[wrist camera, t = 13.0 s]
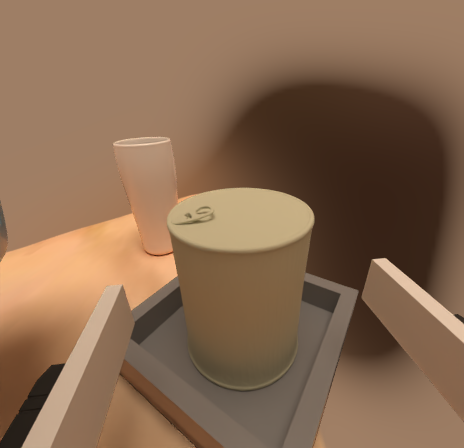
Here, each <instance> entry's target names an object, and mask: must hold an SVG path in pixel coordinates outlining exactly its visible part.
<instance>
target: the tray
mask: <svg viewBox="0 0 464 448" xmlns="http://www.w3.org/2000/svg"><path fill="white" fill-rule="evenodd" d="M357 294H358V290H354V289H351V288H349V287H346V286H343V285H340V284H337V283H334V282H331V281H328V280H325V279H322V278H319V277H316V276H314V275H311V274H308V273H305V277H304V284H303V291H302V299H301V306H300V315H299V323H298V333H297V335H298V349H297V354H296V357H295V359H294V362H293V364H292V365H291V367H290V368H289V370H288V371H287V372H286V373H285V374H284V375H283V376H282V377H281V378H280V379H279V380H277V381H276V382H274V383H272V384H270V385H268V386H266V387H263V388H260V389H256V390H250V391H238V390H231V389H227V388H223V387H221V386H219V385H216V384H214V383H213V382H211V381H209V380H208V379H207V378H206V377H204V376H203V375H202V374H201V373H200V372H199V371H198V369H197V368H196V366H195V365H194V363H193V361H192V359H191V357H190V354H189V350H188V343H187V338H188V332H187V326H186V320H185V314H184V308H183V302H182V296H181V291H180V285H179V280H178V276H177V277H176V278H174V279H173V280H172V281H170V282H169V283H168V284H166V285H165V286H164V287H162V288H161V289H160V290H158V291H157V292H156V293H154V294H153V295H152V296H150V297H149V298H148V299H146V300H145V301H144V302H142V303H141V304H140V305H139V306H137V307H136V308H135V309H133V310H132V311H131V313H132V316H133V319H134V322H135V324H134V328H133V331H132V334H131V337H130V341H129V344H128V347H127V350H126V354H125V357H124V360H123V363H122V367H121V370H120V373H119V374H120V375H122V376H123V377H124V378H125V379H126V380H127V381H128V382H129V383H130V384H131V385H132V386H133V387H134V388H135V389H136V390H137V391H138V392H139V393H140V394H141V395H143V396H144V397H145V398H146V399H147V400H148V401H149V402H150V403H151V404H152V405H153V406H154V407H155V408H156V409H157V410H158V411H159V412H160V413H161V414H162V415H163V416H165V417H166V418H167V419H168V420H169V421H170V422H171V423H172V424H173V425H174V426H175V427H176V428H177V429H178V430H179V431H180V432H181V433H182V434H183V435H184V436H186V437H187V438H188V439H189V440H190V441H191V442H192V443H193V444H194V445H195V446H196V447H197V448H313V446H314V443H315V439H316V436H317V433H318V429H319V426H320V422H321V419H322V415H323V412H324V408H325V405H326V402H327V399H328V395H329V392H330V388H331V385H332V381H333V378H334V375H335V371H336V368H337V364H338V361H339V357H340V354H341V351H342V347H343V344H344V341H345V337H346V334H347V330H348V327H349V324H350V320H351V316H352V313H353V309H354V305H355V301H356V298H357Z"/></svg>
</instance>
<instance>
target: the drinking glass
mask: <svg viewBox="0 0 464 448" xmlns="http://www.w3.org/2000/svg"><path fill="white" fill-rule="evenodd" d="M113 147H114V153H115V157H116V162H117V166H118V170H119V174H120V177H121V180H122V184H123V187H124V189H125V192H126V195H127V198H128V201H129V204H130V206H131V209H132V212H133V215H134V218H135V221H136V224H137V227H138V230H139V233H140V236H141V239H142V243H143V247H144V249H145V251H146V252H148V253H150V254H153V255H163V254H167V253H170V252H172V251H173V248H172V243H171V238H170V234H169V231H168V228H167V224H166V222H167V216H168V214H169V212H170V211H171V210H172V209H173V208H174V207H175V206H176V205H177V204H178V199H177V181H176V169H175V162H174V155H173V149H172V144H171V140H170V139H169V138H166V137H144V138H133V139H127V140H120V141H116V142H114V143H113Z"/></svg>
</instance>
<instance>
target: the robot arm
mask: <svg viewBox="0 0 464 448" xmlns="http://www.w3.org/2000/svg"><path fill="white" fill-rule="evenodd" d="M7 241H8V237H7V230H6V224H5V219H4V214H3V210H2V206H1V202H0V262H1V260H2V258H3V257H4V255H5V253H6V250H7V245H8V242H7ZM362 299H363V300H364V301H365V303H366V304H367V305H368V306H369V307H370V309H371V310H372V311H373V312H374V313H375V315H376V316H377V317H378V318H379V320H380V321H381V322H382V323H383V324H384V326H385V327H386V328H387V329H388V331H389V332H390V333H391V334H392V335H393V336H394V338H395V339H396V340H397V341H398V343H399V344H400V345H401V346H402V347H403V348H404V350H405V351H406V352H407V354H408V355H409V356H410V357H411V358H412V360H413V361H414V362H415V363H416V365H417V366H418V367H419V368H420V369H421V371H422V372H423V373H424V374H425V375H426V377H427V378H428V379H429V380H430V381H431V383H432V384H433V385H434V386H435V388H436V389H437V390H438V391H439V392H440V394H441V395H442V396H443V397H444V399H445V400H446V401H447V402H448V403H449V405H450V406H451V407H452V408H453V409H454V411H455V412H456V413H457V414H458V415H459V417H460V418H461V419H462V420H463V422H464V318H463V317H462V316H460V315H458V314H455V315H453V314H451V313H450V312H449V311H448V310H447V309H445V308H444V307H443V306H442V305H441V304H439V303H438V302H437V301H436V300H435V299H433V298H432V297H431V296H430V295H429V294H427V293H426V292H425V291H424V290H423V289H422V288H420V287H419V286H418V285H417V284H416V283H414V282H413V281H412V280H411V279H410V278H408V277H407V276H406V275H405V274H403V273H402V272H401V271H400V270H399V269H398V268H396V267H395V266H394V265H393V264H392V263H390V262H389V261H388V260H387V259H386V258H383V259H373V260H372V262H371V266H370V269H369V273H368V276H367V280H366V284H365V287H364V291H363V294H362ZM134 324H135V322H134V319H133V316H132V313H131V310H130V306H129V303H128V300H127V297H126V294H125V291H124V287H123V284H122V285H112V286H106V288H105V290H104V292H103V294H102V296H101V298H100V299H99V301H98V303H97V305H96V307H95V309H94V311H93V313H92V315H91V317H90V318H89V320H88V322H87V324H86V326H85V328H84V330H83V332H82V334H81V336H80V337H79V339H78V341H77V343H76V345H75V347H74V349H73V351H72V353H71V354H70V356H69V358H68V360H67V362H66V363H65V364H57V365H51V366H50V367H49V369H48V370H47V371H46V372H45V373H44V374H43V375H42V376H41V377H40V378H39V379H38V380H37V382H36V383H35V385H34V387H33V388H32V390H31V392H30V393H29V395H28V398H27V400H25V402H24V403H23V405H22V407H21V408H20V410H19V414H17V415H16V417H15V418H14V420H13V422H12V423H11V425H10V427H9V428H8V430H7V432H6V433H5V435H4V437H3V438H2V440H1V442H0V448H97V444H98V441H99V438H100V435H101V432H102V428H103V425H104V422H105V419H106V415H107V412H108V409H109V406H110V402H111V399H112V396H113V393H114V389H115V386H116V383H117V380H118V376H119V373H120V370H121V367H122V363H123V360H124V357H125V354H126V350H127V347H128V344H129V341H130V337H131V334H132V331H133V328H134Z"/></svg>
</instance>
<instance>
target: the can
mask: <svg viewBox="0 0 464 448" xmlns="http://www.w3.org/2000/svg"><path fill="white" fill-rule="evenodd" d="M166 224H167V228H168V231H169V234H170V238H171V243H172V248H173V253H174V259H175V264H176V269H177V274H178V280H179V285H180V291H181V296H182V302H183V308H184V314H185V320H186V326H187V332H188V338H187V343H188V350H189V354H190V357H191V359H192V361H193V363H194V365H195V366H196V368H197V369H198V371H199V372H200V373H201V374H202V375H203V376H204V377H206V378H207V379H208V380H209V381H211V382H213V383H214V384H216V385H219V386H221V387H223V388H227V389H231V390H238V391H250V390H256V389H260V388H263V387H266V386H268V385H270V384H272V383H274V382H276V381H277V380H279V379H280V378H281V377H282V376H283V375H284V374H285V373H286V372H287V371H288V370H289V368H290V367H291V365H292V364H293V362H294V359H295V357H296V354H297V349H298V335H297V333H298V323H299V315H300V306H301V299H302V291H303V284H304V277H305V270H306V263H307V257H308V249H309V243H310V236H311V231H312V227H313V224H314V214H313V212H312V210H311V209H310V207H309V206H308V205H306V204H305V203H304V202H302V201H301V200H299V199H297V198H295V197H293V196H291V195H288V194H285V193H281V192H277V191H272V190H266V189H258V188H257V189H256V188H230V189H221V190H215V191H209V192H205V193H201V194H198V195H195V196H192V197H190V198H188V199H186V200H184V201H182V202H180V203H179V204H177V205H176V206H175V207H174V208H173V209H172V210H171V211H170V212H169V214H168V216H167V222H166Z"/></svg>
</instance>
